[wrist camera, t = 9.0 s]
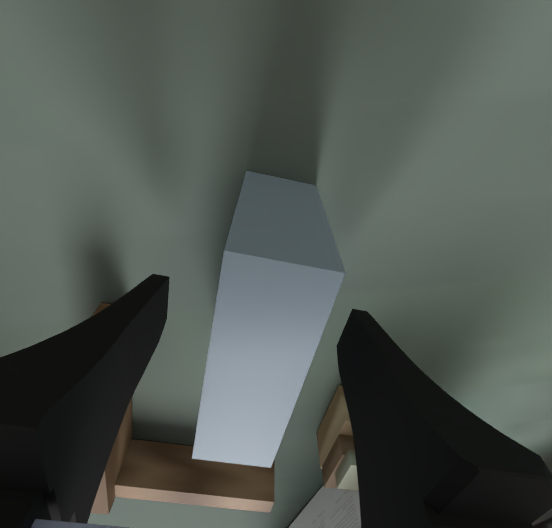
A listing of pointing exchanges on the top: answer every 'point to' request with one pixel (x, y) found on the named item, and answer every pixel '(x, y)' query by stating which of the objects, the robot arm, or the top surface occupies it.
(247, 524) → the top surface
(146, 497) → the brown wooden l-shape
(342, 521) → the skincare box
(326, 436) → the offcut stack
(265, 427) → the light blue block
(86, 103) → the top surface
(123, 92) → the top surface
